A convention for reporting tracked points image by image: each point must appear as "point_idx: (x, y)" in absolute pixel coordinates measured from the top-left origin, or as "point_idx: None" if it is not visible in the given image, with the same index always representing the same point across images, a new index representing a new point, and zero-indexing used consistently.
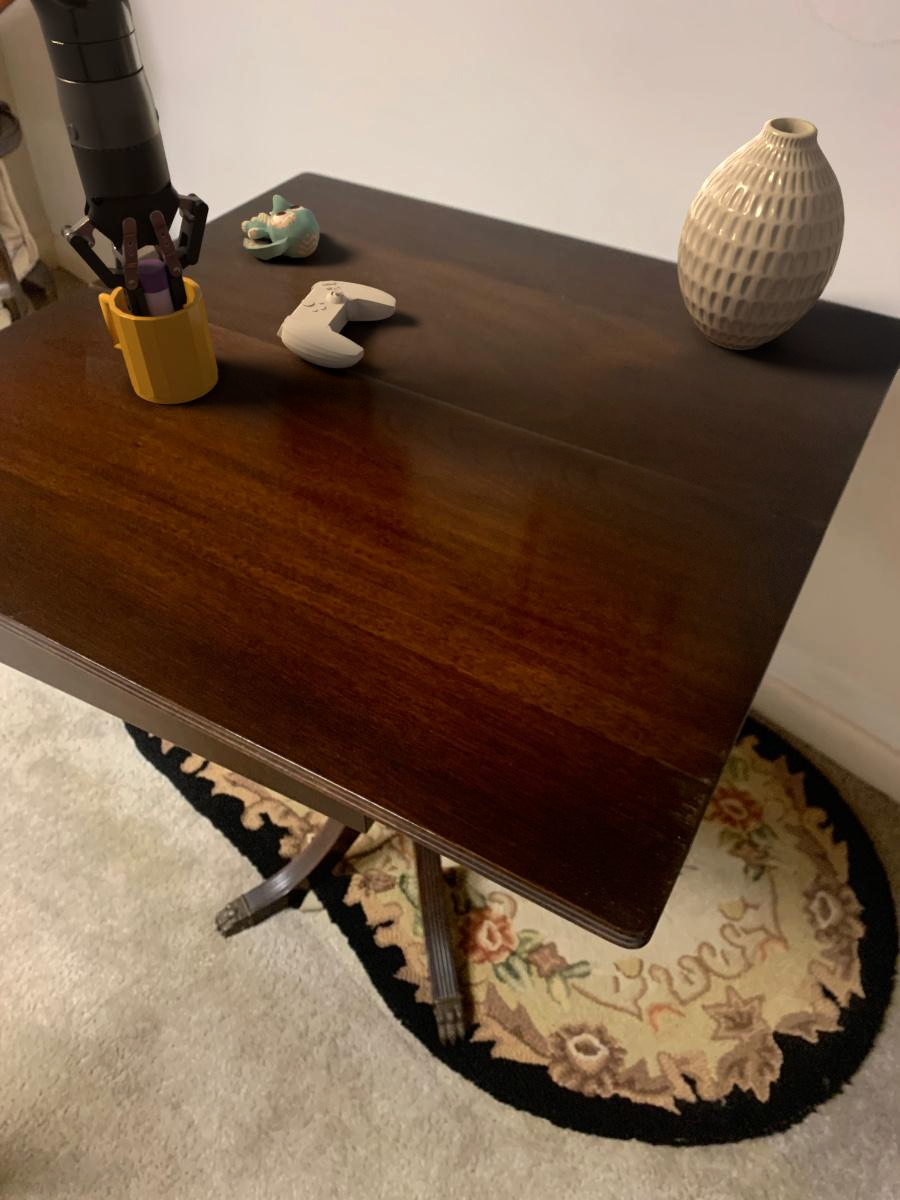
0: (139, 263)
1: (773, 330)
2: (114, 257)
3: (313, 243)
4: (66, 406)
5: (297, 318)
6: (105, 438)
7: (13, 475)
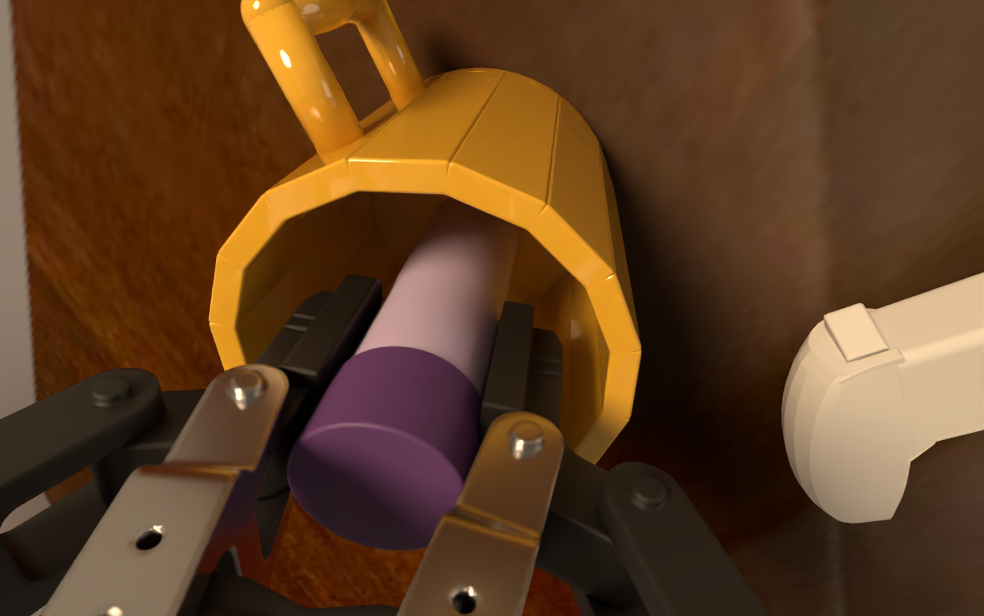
0: (344, 442)
1: None
2: (163, 461)
3: None
4: (171, 101)
5: (906, 382)
6: None
7: (34, 266)
